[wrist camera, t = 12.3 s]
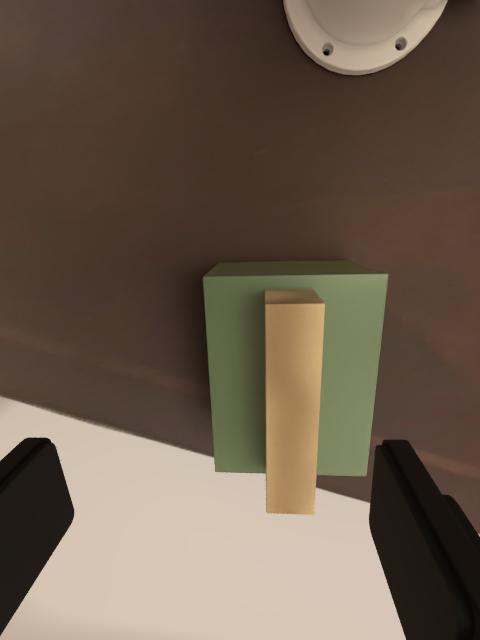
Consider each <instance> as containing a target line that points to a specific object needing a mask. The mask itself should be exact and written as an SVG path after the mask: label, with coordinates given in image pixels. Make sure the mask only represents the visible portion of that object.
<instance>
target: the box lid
mask: <svg viewBox="0 0 480 640" xmlns="http://www.w3.org/2000/svg"><path fill="white" fill-rule="evenodd" d="M387 283H388V273H386V272H342V273H287V274H232V275H205V276H203V289H204V304H205V320H206V336H207V351H208V367H209V382H210V398H211V414H212V429H213V445H214V460H215V472H235V473H266V416H265V289H302V288H313V289H314V290H315V292H316V293H317V294H318V295H319V297H320V298H321V299H322V301H323V302H324V303H325V315H324V334H323V354H322V373H321V393H320V412H319V431H318V451H317V470H316V475H338V476H366V473H367V464H368V455H369V446H370V437H371V428H372V419H373V410H374V400H375V391H376V382H377V373H378V364H379V355H380V346H381V337H382V328H383V319H384V310H385V301H386V292H387Z"/></svg>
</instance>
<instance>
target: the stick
mask: <svg viewBox="0 0 480 640" xmlns="http://www.w3.org/2000/svg"><path fill="white" fill-rule="evenodd" d="M324 315H325V303H324V302H323V301H322V299H321V298H320V297H319V295H318V294H317V293H316V292H315V290H314V289H313V288H302V289H265V416H266V506H267V507H266V512H267V513H282V514H310V515H313V514H314V508H315V489H316V470H317V451H318V431H319V412H320V393H321V373H322V354H323V334H324Z"/></svg>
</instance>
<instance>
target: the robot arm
mask: <svg viewBox="0 0 480 640" xmlns="http://www.w3.org/2000/svg"><path fill="white" fill-rule="evenodd" d="M447 1H448V0H283V3H284V10H285V13H286V17H287V20H288V24H289V27H290V29H291V31H292V33H293V35H294V37H295V39H296V41H297V42H298V44H299V45H300V46H301V48H302V49H303V50H304V52H305V53H306V54H307V55H308V56H309V57H310V58H311V59H313V60H314V61H315V62H316V63H317V64H319V65H321V66H323V67H324V68H326V69H328V70H330V71H333V72H337V73H340V74H344V75H363V74H369V73H374V72H377V71H380V70H382V69H385V68H387V67H390V66H391V65H393V64H394V63H396V62H398V61H399V60H401V59H402V58H404V57H405V56H406V55H407V54H408V53H409V52H411V51H412V50H413V49H414V48H415V47H416V46H417V45H418V44H419V43H420V42H421V41H422V39H423V38H424V37H425V36H426V35H427V34H428V33H429V31H430V30H431V28H432V27H433V26H434V24H435V23H436V21H437V20H438V18H439V17H440V15H441V13H442V11H443V9H444V7H445V5H446V3H447ZM395 47H398V48H399V51H398V50H397V49H396V48H395ZM324 52H328V54H329V56H325V55H324V54H323V53H324ZM73 517H74V508H73V504H72V501H71V497H70V494H69V491H68V487H67V484H66V480H65V477H64V474H63V470H62V467H61V464H60V460H59V456H58V453H57V450H56V447H55V445H54V444H53V443H51V441H50V439H48V438H26V439H24V440H23V441H22V442H20V443H19V444H18V445H17V446H16V447H15V448H14V449H13V450H12V451H11V452H10V453H8V454H7V455H6V456H5V457H4V458H3V459H2V460H1V461H0V635H1V634H2V632H3V630H4V629H5V628H6V626H7V624H8V623H9V621H10V620H11V618H12V616H13V615H14V613H15V612H16V610H17V609H18V607H19V605H20V604H21V602H22V601H23V599H24V598H25V596H26V594H27V593H28V591H29V590H30V588H31V586H32V585H33V583H34V582H35V580H36V579H37V577H38V575H39V574H40V572H41V571H42V569H43V567H44V566H45V564H46V563H47V561H48V560H49V558H50V556H51V555H52V553H53V552H54V550H55V549H56V547H57V545H58V544H59V542H60V541H61V539H62V537H63V536H64V534H65V533H66V531H67V530H68V528H69V527H70V525H71V523H72V520H73ZM369 524H370V530H371V534H372V537H373V540H374V543H375V546H376V550H377V553H378V555H379V558H380V562H381V565H382V568H383V571H384V574H385V577H386V579H387V583H388V586H389V589H390V592H391V595H392V598H393V601H394V604H395V607H396V610H397V613H398V616H399V619H400V622H401V625H402V628H403V631H404V634H405V637H406V640H480V537H479V535H478V533H477V532H476V530H475V529H474V527H473V526H472V524H471V523H470V521H469V520H468V518H467V517H466V515H465V514H464V512H463V511H462V509H461V508H460V506H459V505H458V503H457V502H456V501H455V500H454V498H452V497H451V496H449V495H442V494H441V492H440V491H439V489H438V487H437V486H436V484H435V483H434V481H433V480H432V478H431V476H430V475H429V473H428V472H427V470H426V468H425V467H424V465H423V464H422V462H421V460H420V459H419V457H418V456H417V454H416V453H415V451H414V449H413V448H412V446H411V445H410V443H409V442H408V441H407V440H383V442H382V445H377V446H376V450H375V460H374V471H373V482H372V492H371V503H370V514H369Z"/></svg>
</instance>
